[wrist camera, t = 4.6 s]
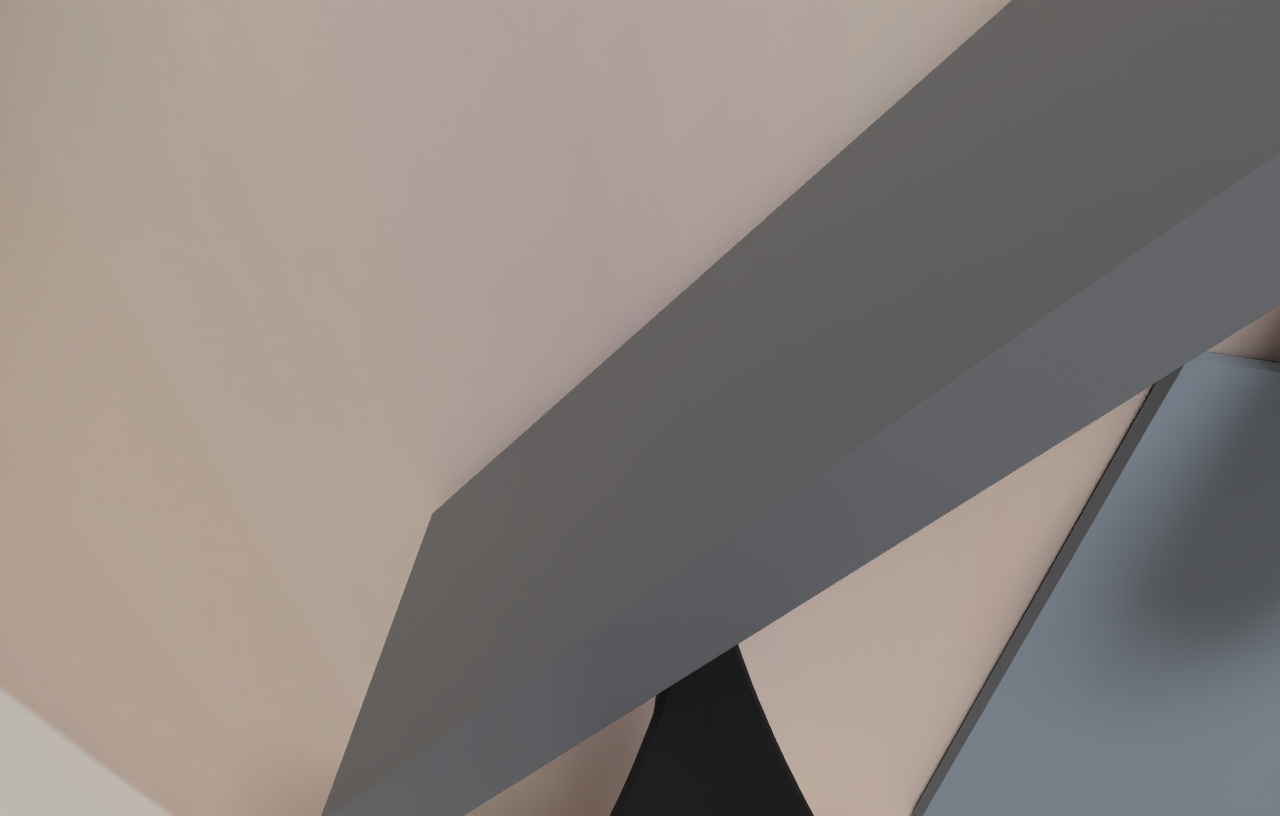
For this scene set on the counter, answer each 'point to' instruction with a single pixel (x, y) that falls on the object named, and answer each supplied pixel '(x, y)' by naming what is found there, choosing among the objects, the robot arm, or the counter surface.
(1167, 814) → the mat
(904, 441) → the grey rectangular panel
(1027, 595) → the counter surface
